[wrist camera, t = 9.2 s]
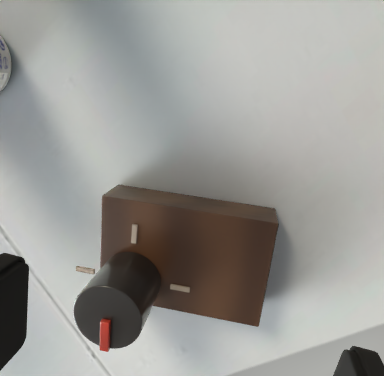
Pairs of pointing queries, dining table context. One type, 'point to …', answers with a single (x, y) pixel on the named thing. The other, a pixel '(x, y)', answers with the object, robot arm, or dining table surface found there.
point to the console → (194, 249)
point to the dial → (117, 300)
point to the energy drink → (4, 64)
